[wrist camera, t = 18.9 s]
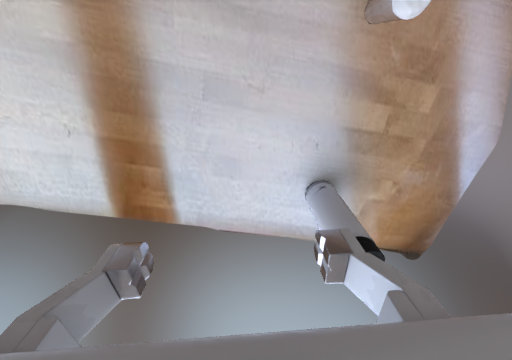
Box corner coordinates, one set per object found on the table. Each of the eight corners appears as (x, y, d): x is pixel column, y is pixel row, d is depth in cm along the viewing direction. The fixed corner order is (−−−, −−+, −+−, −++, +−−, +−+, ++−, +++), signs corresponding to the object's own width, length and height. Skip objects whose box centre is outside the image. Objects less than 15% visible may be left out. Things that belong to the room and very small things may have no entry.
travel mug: (312, 175, 44) (357, 248, 26) (339, 185, 45) (399, 260, 28) (298, 199, 47) (331, 280, 29) (324, 208, 48) (370, 290, 30)
